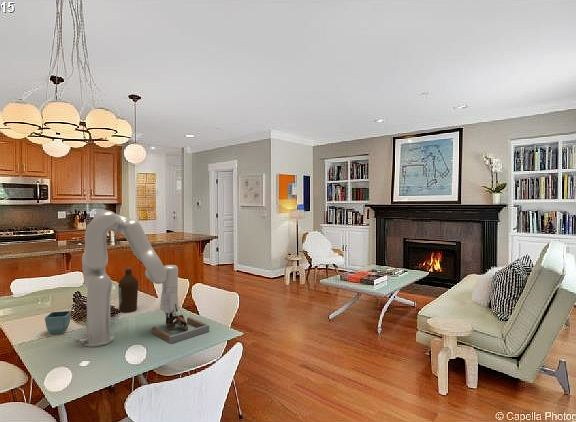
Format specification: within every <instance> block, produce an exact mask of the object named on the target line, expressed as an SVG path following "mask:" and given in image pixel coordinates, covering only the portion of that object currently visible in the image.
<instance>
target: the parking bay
mask: <svg viewBox="0 0 576 422" xmlns="http://www.w3.org/2000/svg"><path fill="white" fill-rule="evenodd" d="M186 324H187V325H189V326H192V327H194V328H192V329H189V330H187V331H186V330H185V331H182V332H179V333H176V334H173V335H172V334H170V333H168V332H166V331H165V330H162V329H160V328H159V327H157V326H152V327H151V334H153V335H154V336H156V337H158V338H159V339H161V340H164V341H165V342H166V343H169V344H175V343H177V342H182V341H183V340H187V339H189V338H193V337H196V336H200V335H203V334H206V333H208V332H210V325H209V324H207V323H204V322H201V321H200V320H197V319H195V318H193V317H190V316H189V317H187V318H186Z"/></svg>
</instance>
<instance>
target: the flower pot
mask: <svg viewBox="0 0 576 422" xmlns="http://www.w3.org/2000/svg"><path fill="white" fill-rule="evenodd" d="M71 316H72V310H64V311H63V310H61V311H60V310H59V311H51V312H50V313H49V314H48V315H46V316H45V317H44V323H45V326H46V329H47V332H48V333H49V334H50V335H59V334H64V333H65V332H66V330H68V327H69V326H70V323H71Z"/></svg>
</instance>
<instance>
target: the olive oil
mask: <svg viewBox="0 0 576 422" xmlns="http://www.w3.org/2000/svg"><path fill="white" fill-rule="evenodd" d="M138 281H139V280H138V279H137V278H136V277H135V276H134V275H133V270H132V267H126V268H125V273H124V275H123V276H122V277H121V279H120V280H119V282H118V285H117V286H118V288H117V289H118V310H120V311H119V312H120V313H123V314H124V313H133V312H135V311H137V309H138V295H139V293H138V292H139V282H138Z"/></svg>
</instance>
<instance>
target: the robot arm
mask: <svg viewBox="0 0 576 422" xmlns="http://www.w3.org/2000/svg"><path fill="white" fill-rule="evenodd" d="M109 231H110V232H114V233H117V234H121V235H123V236H124V237H125V239H126V241H127V242H128V245H129V247H130V249H131V251H132V253H133V255H134V256H135V257H136V259H138V260H139V261H140V262H141V263H142V264H143V266H144V267H145V271H144V275H145V278H146V279H147V280H149V281H151V282H152V283H153V284H156V285H157V284H158V285H160V284H162V286H161V287H162V288H161V289H162V290H161V293H160V294H161V296H160V310H161V311H163V312H164V315H165V324H166V323H167V322H168V320H169V319H171V318H172V317H174V316H176V315H177V312H178V311H179V296H178V293H179V292H178V289H179V288H178V287H179V283H178V282H179V268H178V266H177V265H175V264H166V265H164V264H163V262H162V260H161V259H160V258H159V256H158V254H157V253H156V251H155V249H154V247H153V246H152V245H151V243H150V241H149V239H148V237H147V234H146V233H145V231H144V229H143V227H142V225H141V223H140V222H139V221H138V220H137V219H133V218H130V217H125V216H122V215H120V214H117V213H115V212H114V211H111V210H105V209H102V210H98V211H97V212H96V213H95V214H94V215H93V219H92V220H91V221H90V222H89V223H88V225H87V226H86V228H85V232H84V252H83V253H82V257H81V264H82V265H81V266H82V276H83V283H84V285H85V287H86V289H87V291H86V332H84V335H82V336H77V337H74V339H73V341H74V343H78V342H79V343H82V345H83V346H85V347H89V348H97V347H103V346H105V345H108V344H111V343H112V342H113V341H114V339H115V336H114V335H113V334H111V297H112V286H113V284H112V279H111V277H110V276H109V275H108V274H107V272H106V271H107V270H106V267H107V265H108V263H109V256H108V248H107V247H108V246H107V236H108V233H109ZM173 322H174V320H173V321H172V322H171V323H173ZM171 323H170V324H171Z"/></svg>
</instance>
